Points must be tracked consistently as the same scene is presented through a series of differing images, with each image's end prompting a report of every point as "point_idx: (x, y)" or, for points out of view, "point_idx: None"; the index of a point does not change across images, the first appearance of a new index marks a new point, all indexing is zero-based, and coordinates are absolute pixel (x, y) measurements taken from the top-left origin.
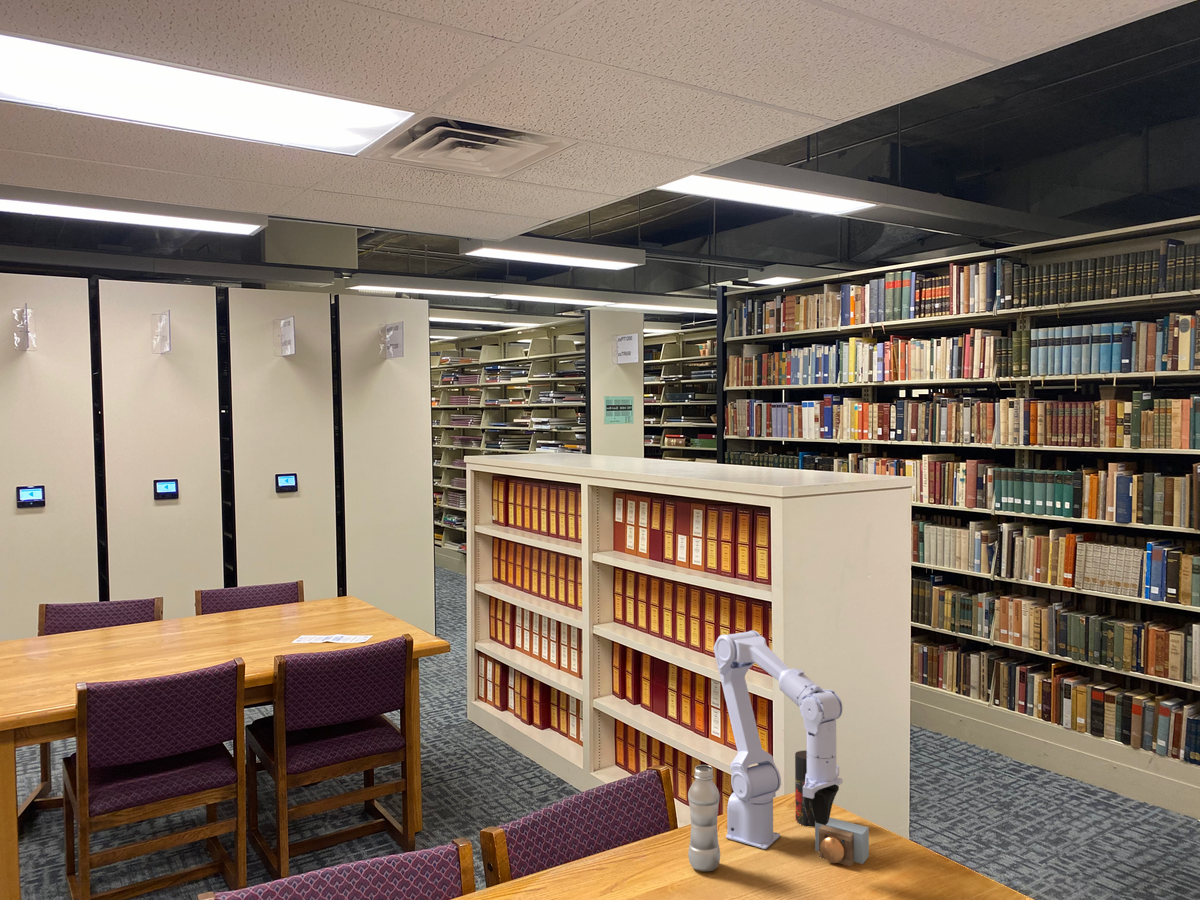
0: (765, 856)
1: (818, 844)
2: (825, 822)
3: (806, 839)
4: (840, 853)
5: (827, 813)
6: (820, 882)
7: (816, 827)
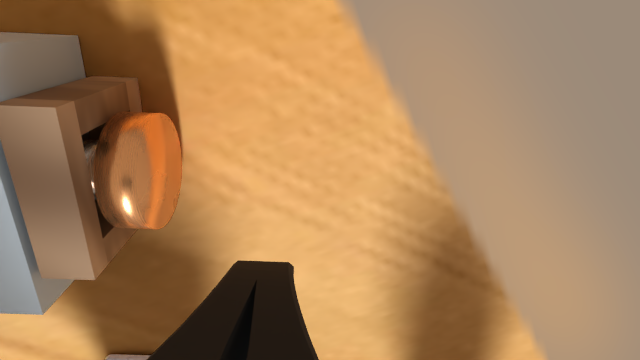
0: None
1: None
2: (293, 277)
3: None
4: (157, 127)
5: (297, 326)
6: (346, 141)
7: (58, 290)
